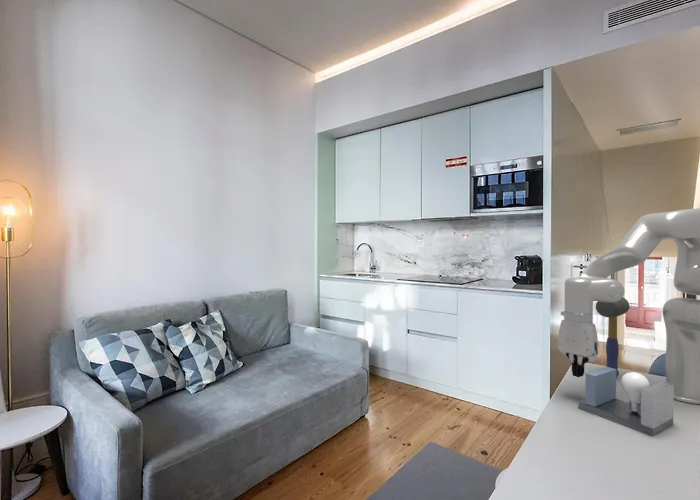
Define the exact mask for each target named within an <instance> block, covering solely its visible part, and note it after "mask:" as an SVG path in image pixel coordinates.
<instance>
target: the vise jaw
mask: <svg viewBox="0 0 700 500" xmlns="http://www.w3.org/2000/svg"><path fill="white" fill-rule="evenodd" d="M585 399H586V404H589V405H591V406H594V407H596V406H598V405H600V404H603V403H605V402H608V401H610V400H613V399H617V378H616V369H614V368H610V367H607V366H606V367H602V368H599V369H596V370H592V371H588V372H586V373H585Z"/></svg>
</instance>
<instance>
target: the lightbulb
mask: <svg viewBox="0 0 700 500" xmlns="http://www.w3.org/2000/svg"><path fill="white" fill-rule="evenodd" d="M620 385H621V388H622V389H623V391H624V392H625V393H626V396H627V399H628V403H630V404H629V409H630V410H631V411H633V412H635V413H638V412H641V390H642V389H644V388H647V387H649V386H651V383H650V381H649V380H648V377H646V376H644V375H643V374H641V373H639V372H637V371H631V372H627V373H625V374H623V375H622V376H621V379H620Z"/></svg>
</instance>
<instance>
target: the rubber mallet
mask: <svg viewBox="0 0 700 500" xmlns="http://www.w3.org/2000/svg"><path fill="white" fill-rule="evenodd" d="M629 309H630V303H629V301H628V299H627V298H625V297H624V296H623V297H622V298H621V299H620V300H618V301H616V302H612V303H606V302H599V301H596V304H595V310H596V312H597V313H598V314H599V315H600V316H601V317H604V318H608V324H607V325H608V332H607V333H608V334H607V338H606V342H605V343H606V344H605V353H606V367H610V368H614V369H616V379H618V377H619V375H620V374H619V373H620V372H619V370H618V367H619V366H618V364H619V363H618V359H619V350H620V349H619V348H620V346H619V341H618V317H619V316H621V315H624V314H626V313H628V312H629Z"/></svg>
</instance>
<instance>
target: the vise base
mask: <svg viewBox="0 0 700 500" xmlns="http://www.w3.org/2000/svg"><path fill="white" fill-rule="evenodd" d="M674 400H675V399H674V384H670V383H666V381H660V382H657V383H655V384H652V385H650V386H649V387H647V388H644V389H642V390H641V412H638V413H635V412H633V411H631V410H630V409H629V404H630V403H629V402H627V401H624V400H622V399H621V400H620V399H618V398H615V399H613V400H610V401H608V402H605V403H603V404H600V405H598V406H596V407H594V406H591V405H589V404H586V398H584V399H581V400H578V404H577V405H578V406H577V408H578V409H580V410H582V411H585V412H587V413H590V414H593V415H595V416H597V417H600V418H604V419H606V420H608V421H612V422H614V423H616V424H618V425H621V426H625V427H626V428H630V429H632V430H635V431H637V432H640V433H643V434H645V435H647V436H651V437H654V436H657V435H658V434H660V433H662V432H664V431H665V430H667V429H669V428H671V427H672V426H674Z"/></svg>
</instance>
